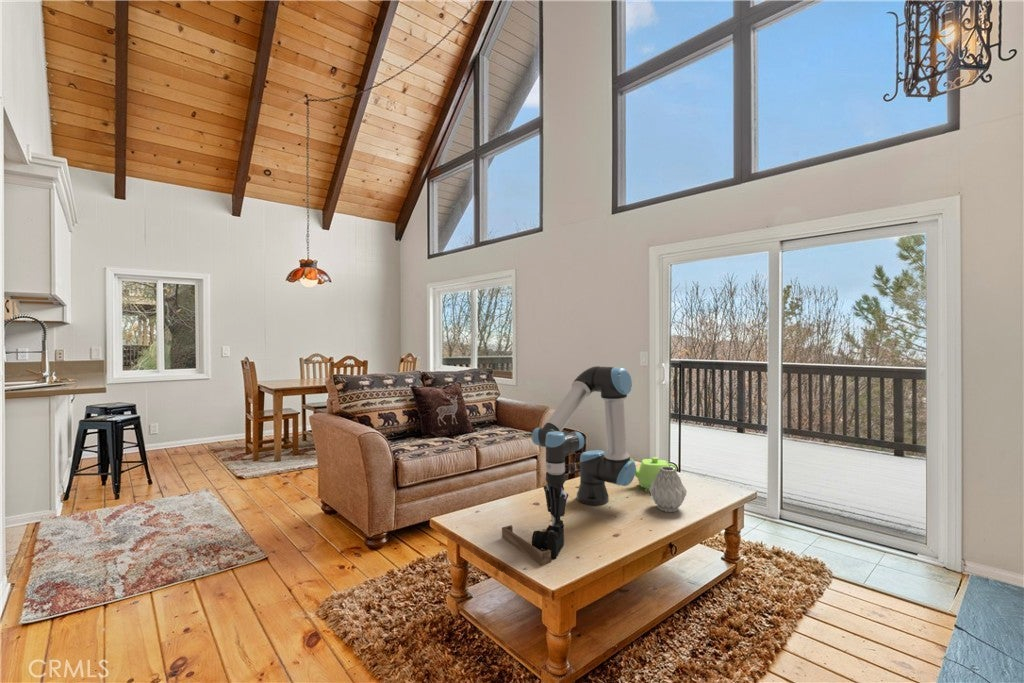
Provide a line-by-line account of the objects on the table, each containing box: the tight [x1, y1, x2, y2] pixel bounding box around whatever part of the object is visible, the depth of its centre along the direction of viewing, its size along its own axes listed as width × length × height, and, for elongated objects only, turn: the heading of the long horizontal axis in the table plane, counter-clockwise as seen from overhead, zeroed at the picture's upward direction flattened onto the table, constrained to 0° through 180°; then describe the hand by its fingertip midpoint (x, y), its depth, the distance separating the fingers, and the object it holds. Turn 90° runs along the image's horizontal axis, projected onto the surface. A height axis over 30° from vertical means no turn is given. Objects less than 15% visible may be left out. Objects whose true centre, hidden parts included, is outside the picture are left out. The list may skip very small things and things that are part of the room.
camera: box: [531, 519, 565, 560], centre depth 175 cm, size 14×11×10 cm
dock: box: [501, 524, 552, 566], centre depth 175 cm, size 4×26×4 cm, turn 33°
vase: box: [649, 466, 688, 513], centre depth 212 cm, size 16×16×18 cm
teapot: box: [630, 456, 678, 492], centre depth 243 cm, size 25×22×16 cm
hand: (556, 531), depth 183 cm, fingers closed
